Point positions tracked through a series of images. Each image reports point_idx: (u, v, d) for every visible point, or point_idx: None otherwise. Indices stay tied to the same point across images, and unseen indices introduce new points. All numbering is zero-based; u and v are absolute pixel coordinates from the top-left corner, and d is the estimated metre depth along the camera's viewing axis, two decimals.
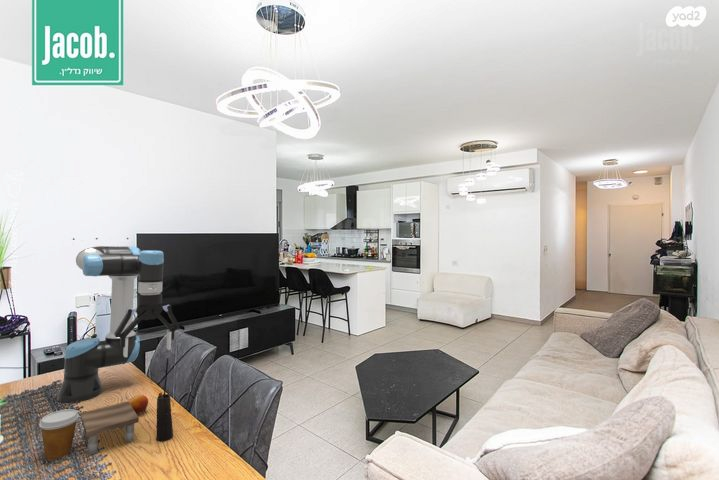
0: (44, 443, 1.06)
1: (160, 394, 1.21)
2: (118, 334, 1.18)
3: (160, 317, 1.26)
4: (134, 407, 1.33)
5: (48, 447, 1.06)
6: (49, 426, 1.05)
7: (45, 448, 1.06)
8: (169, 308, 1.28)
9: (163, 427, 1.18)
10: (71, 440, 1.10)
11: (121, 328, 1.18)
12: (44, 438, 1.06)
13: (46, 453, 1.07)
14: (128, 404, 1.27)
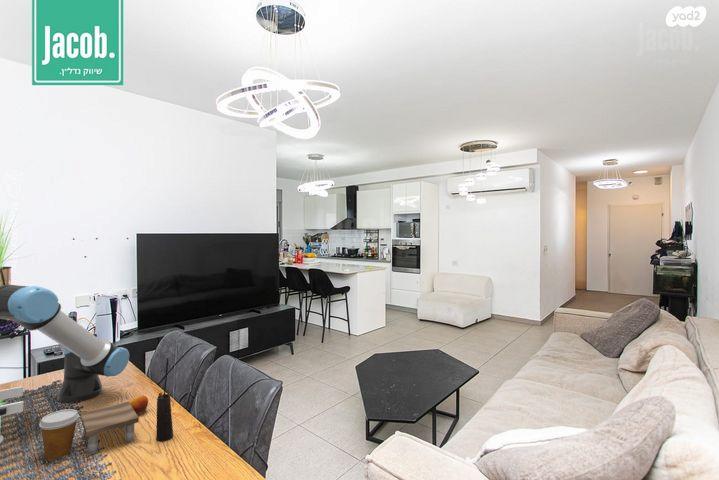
0: (44, 443, 1.06)
1: (160, 394, 1.21)
2: None
3: None
4: (134, 407, 1.33)
5: (48, 447, 1.06)
6: (49, 426, 1.05)
7: (45, 448, 1.06)
8: None
9: (163, 427, 1.18)
10: (71, 440, 1.10)
11: None
12: (44, 438, 1.06)
13: (46, 453, 1.07)
14: (128, 404, 1.27)
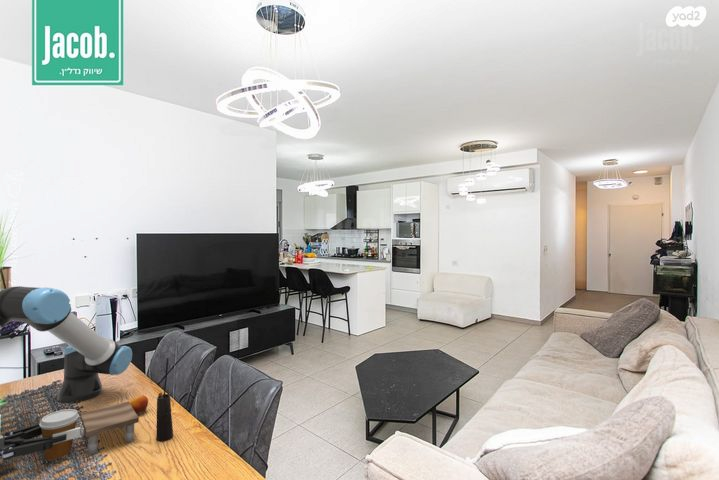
0: None
1: (160, 394, 1.21)
2: None
3: None
4: (134, 407, 1.33)
5: None
6: (49, 426, 1.05)
7: None
8: None
9: (163, 427, 1.18)
10: (71, 440, 1.10)
11: None
12: None
13: (46, 453, 1.07)
14: (128, 404, 1.27)
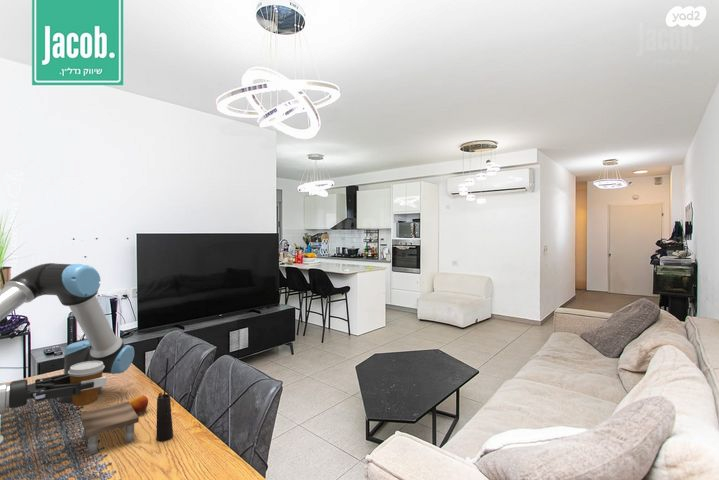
0: None
1: (160, 394, 1.21)
2: None
3: None
4: (134, 407, 1.33)
5: None
6: (77, 373, 1.10)
7: (73, 395, 1.11)
8: None
9: (163, 427, 1.18)
10: (97, 389, 1.15)
11: None
12: None
13: (74, 400, 1.11)
14: (128, 404, 1.27)
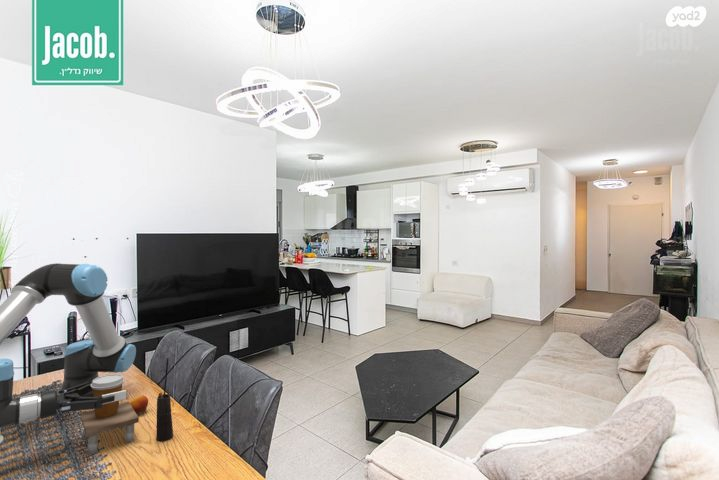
0: None
1: (160, 394, 1.21)
2: None
3: None
4: (134, 407, 1.33)
5: None
6: (100, 387, 1.16)
7: None
8: None
9: (163, 427, 1.18)
10: (118, 401, 1.21)
11: None
12: None
13: (97, 412, 1.17)
14: (128, 404, 1.27)
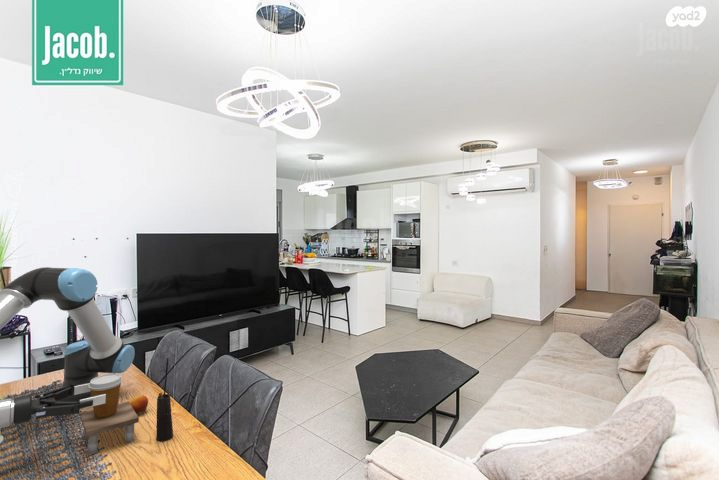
0: None
1: (160, 394, 1.21)
2: None
3: None
4: (134, 407, 1.33)
5: (98, 406, 1.16)
6: (99, 387, 1.15)
7: (95, 407, 1.16)
8: None
9: (163, 427, 1.18)
10: (117, 400, 1.21)
11: None
12: None
13: (96, 412, 1.17)
14: (128, 404, 1.27)
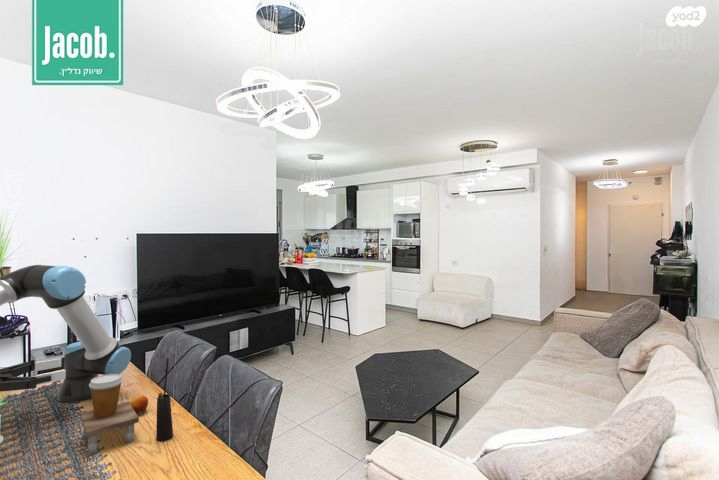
0: (95, 402, 1.17)
1: (160, 394, 1.21)
2: None
3: None
4: (134, 407, 1.33)
5: (99, 406, 1.17)
6: (101, 386, 1.16)
7: (96, 407, 1.17)
8: None
9: (163, 427, 1.18)
10: (117, 400, 1.21)
11: None
12: (95, 398, 1.16)
13: (96, 411, 1.17)
14: (128, 404, 1.27)
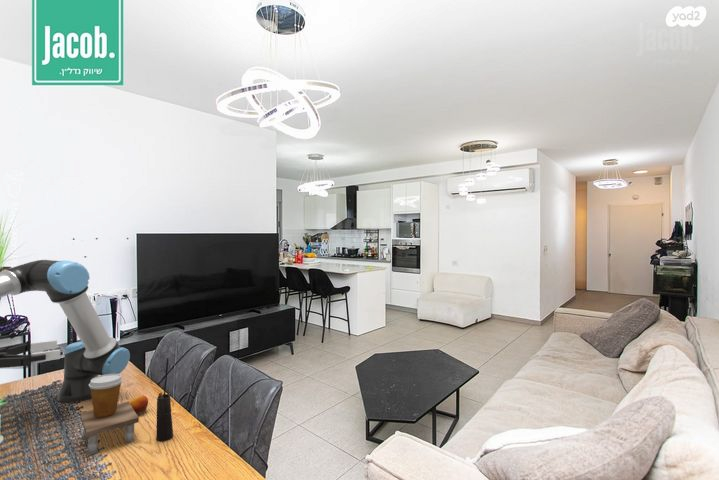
0: (95, 402, 1.17)
1: (160, 394, 1.21)
2: None
3: None
4: (134, 407, 1.33)
5: (99, 406, 1.17)
6: (101, 386, 1.16)
7: (96, 407, 1.17)
8: None
9: (163, 427, 1.18)
10: (117, 400, 1.21)
11: None
12: (95, 398, 1.16)
13: (97, 411, 1.17)
14: (128, 404, 1.27)
